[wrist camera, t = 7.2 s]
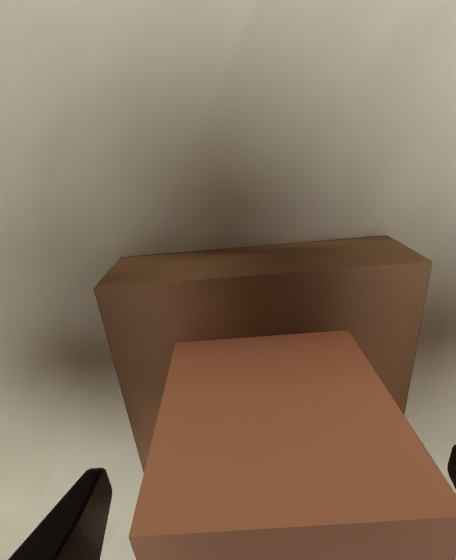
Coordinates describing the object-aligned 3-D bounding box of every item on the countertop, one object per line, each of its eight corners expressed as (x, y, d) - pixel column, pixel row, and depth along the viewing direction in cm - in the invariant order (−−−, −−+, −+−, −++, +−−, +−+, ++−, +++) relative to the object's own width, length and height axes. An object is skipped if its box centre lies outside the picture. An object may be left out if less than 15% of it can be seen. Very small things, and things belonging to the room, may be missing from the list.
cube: (195, 461, 11) (177, 679, 7) (175, 342, 9) (129, 537, 5) (338, 452, 11) (417, 667, 7) (347, 330, 9) (470, 516, 5)
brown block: (163, 445, 15) (151, 502, 12) (120, 257, 11) (93, 288, 9) (364, 431, 14) (390, 487, 12) (387, 235, 11) (431, 261, 8)
